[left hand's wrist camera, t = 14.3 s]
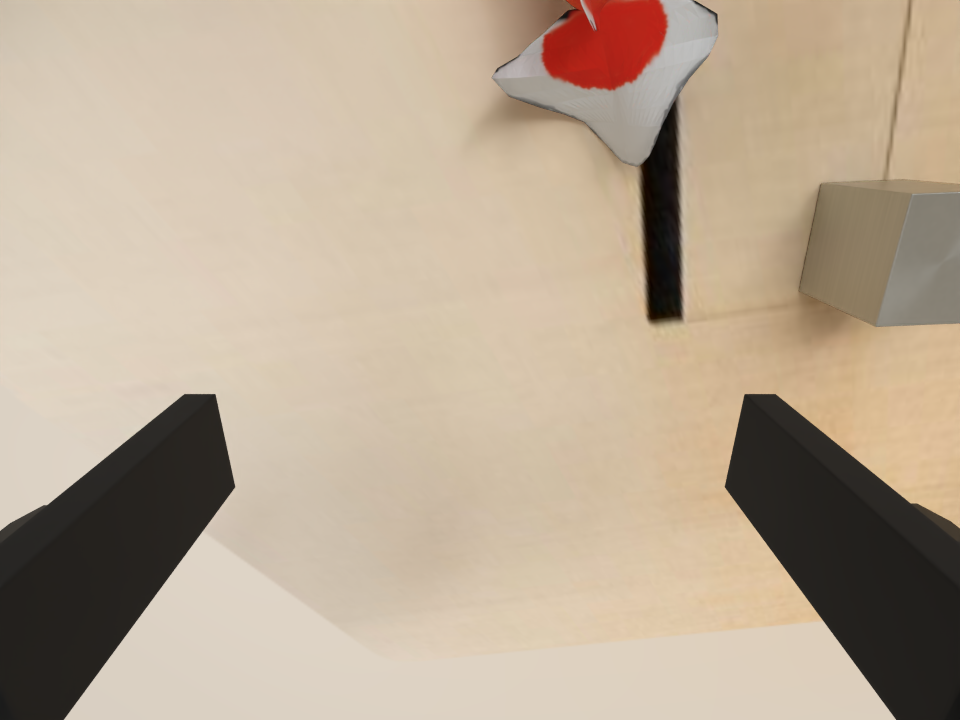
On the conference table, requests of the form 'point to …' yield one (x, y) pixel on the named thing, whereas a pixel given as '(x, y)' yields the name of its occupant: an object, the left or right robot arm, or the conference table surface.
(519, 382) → the conference table surface
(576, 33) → the fish
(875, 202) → the block
